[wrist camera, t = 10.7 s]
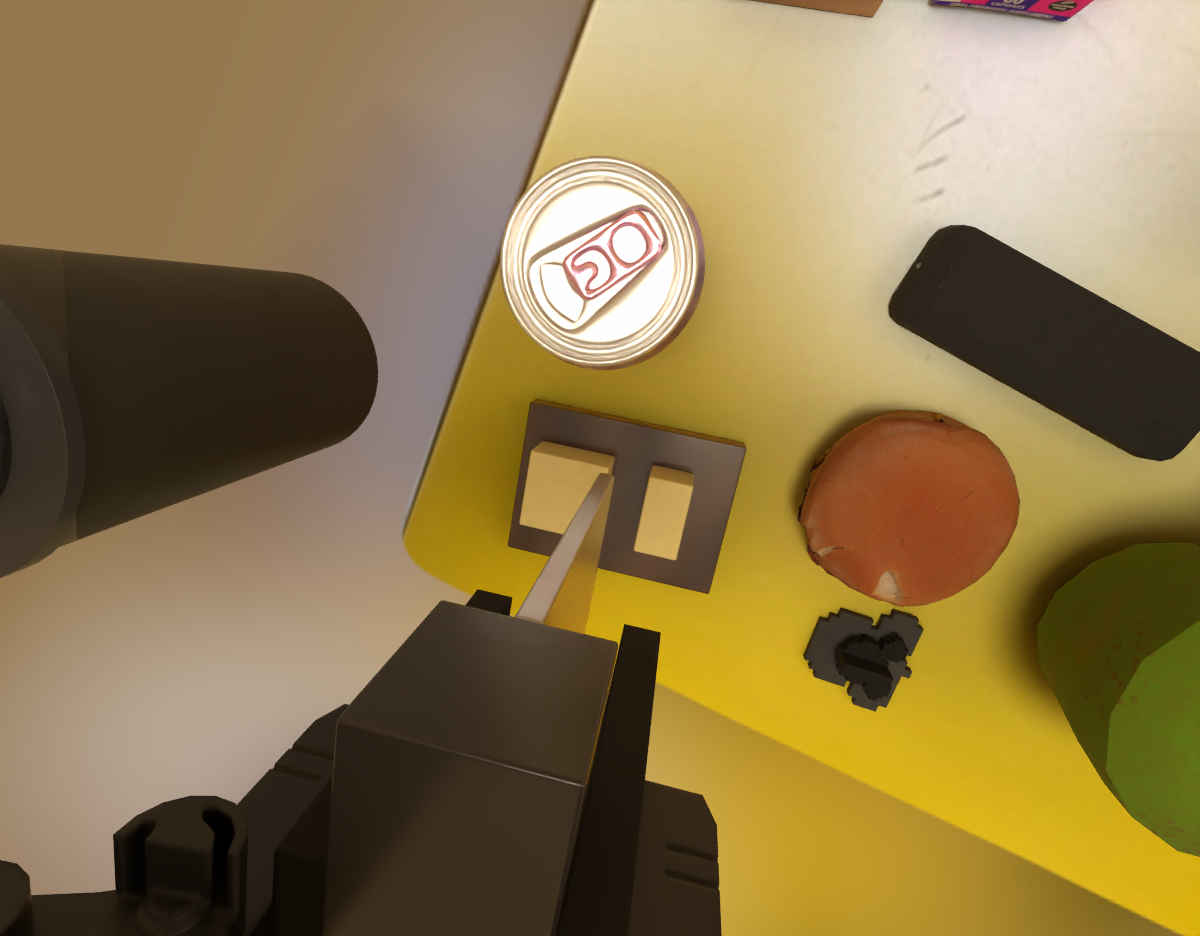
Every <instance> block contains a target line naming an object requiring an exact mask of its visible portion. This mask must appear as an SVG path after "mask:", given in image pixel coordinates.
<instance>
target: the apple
mask: <svg viewBox="0 0 1200 936" xmlns="http://www.w3.org/2000/svg"><path fill="white" fill-rule="evenodd" d="M1036 631H1037V643H1038V656H1039V666H1040V667H1041V669H1042V671H1043V673H1044V675H1045V677H1046V679H1047V681H1048V682H1049V684H1050V686H1051V688H1052V690H1053V692H1054V694H1055V695H1056V697H1057V699H1058V701H1059V703H1060V705H1061V707H1062V709H1063V711H1064V714H1065V716H1066V718H1067V720H1068V722H1069V724H1070V726H1071V728H1072V730H1073V732H1074V734H1075V736H1076V738H1077V740H1078V742H1079V743H1080V745H1081V746H1082V748H1083V750H1084V751H1085V753H1086V755H1087V756H1088V758H1089V759H1090V761H1091V763H1092V764H1093V766H1094V767H1095V769H1096V771H1097V772H1098V774H1099V776H1100V777H1101V779H1102V780H1103V782H1104V784H1105V785H1106V786H1107V787H1108V789H1109V790H1110V791H1111V792H1112V793H1113V795H1114V796H1115V797H1116V798H1117V799H1118V801H1119V802H1120V803H1121V804H1122V806H1123V807H1124V808H1125V809H1126V810H1127V812H1128V813H1129V814H1130V815H1131V817H1133V818H1134V819H1135V820H1137V821H1138V822H1139V823H1141V824H1142V825H1143V826H1145V827H1146V828H1147V829H1149V830H1150V831H1152V832H1153V833H1154V834H1156V835H1157V836H1158V837H1160V838H1161V839H1162V840H1164V841H1165V842H1166V843H1168V844H1169V845H1170V846H1172V847H1173V848H1174V849H1176V850H1177V851H1180V852H1184V853H1187V854H1191V855H1195V856H1199V857H1200V545H1197V544H1193V543H1189V542H1173V543H1143V544H1135V545H1133V546H1131V547H1128V548H1126V549H1123V550H1121V551H1119V552H1116V553H1114V554H1112V555H1109V556H1107V557H1105V558H1102V559H1100V560H1098V561H1095V562H1093V563H1091V564H1090V565H1088V566H1087V567H1086V568H1085V569H1083V570H1082V571H1081V572H1080V573H1078V574H1077V575H1076V576H1075V577H1073V578H1072V579H1071V580H1070V581H1068V582H1067V583H1066V584H1065V585H1063V586H1062V587H1061V588H1060V589H1058V590H1057V591H1056V592H1055V594H1054V596H1053V597H1052V599H1051V601H1050V603H1049V605H1048V607H1047V609H1046V611H1045V612H1044V614H1043V616H1042V618H1041V620H1040V622H1039V624H1038V626H1037V628H1036Z"/></svg>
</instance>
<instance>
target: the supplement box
mask: <svg viewBox="0 0 1200 936" xmlns="http://www.w3.org/2000/svg"><path fill="white" fill-rule="evenodd" d="M931 1H932V3H933V4H937V5H950V6H966V7H974V8H983V9H989V10H996V11H1004V12H1011V13H1018V14H1024V15H1032V16H1039V17H1042V18H1046V19H1052V20H1058V21H1066V20H1068V19H1069V18H1071V17H1072V16H1073V15H1075V14H1076V13H1077V12H1079V11H1080V10H1081V9H1083V8H1084V7H1085V6H1087V5H1088V4H1089V3H1091V2H1092V1H1093V0H931Z"/></svg>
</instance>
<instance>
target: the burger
mask: <svg viewBox="0 0 1200 936" xmlns="http://www.w3.org/2000/svg"><path fill="white" fill-rule="evenodd" d="M810 472H811V474H810V479H809V482H808V485H807V488H806V489H805V494H804V500H803V502H802V504H801V506H800V507H799V513H798V521H799V523H800V524H801V526H803V527H804V528H805V530H806V534H807V540H808V544H807V551H808V553H809V556H810V558H811V559H812V561H813V562H814V563H816V564H817V565H820V566H821V567H822V568H823V569H824V570H825V571H826V572H827V573H828V574H830V575H832V576H834V577H836V578H838V579H839V580H840V581H842V582H843V583H844V584H845V585H847V586H848V587H849V588H852V589H854V590H856V591H858V592H860V593H862V594H865V595H867V596H869V597H871V598H874V599H876V600H879V601H886V602H888V603H891V604H894V605H897V606H901V607H904V606H921V605H927V604H930V603H933V602H936V601H939V600H942V599H945V598H948V597H950V596H953V595H954V594H956V593H958V592H960V591H961V590H963V589H965V588H966V587H968V586H970V585H971V584H973V583H975V582H976V581H977V580H979V579H980V578H981V577H982V576H983V575H984V574H985V573H987V572H988V571H989V570H990V569H991V568H992V566H993V565H994V563H995V562H996V561H997V559H998V558H999V556H1000V555H1001V554H1002V552H1003V551H1004V550H1005V548H1006V547H1007V545H1008V543H1009V541H1010V539H1011V536H1012V534H1013V532H1014V530H1015V528H1016V525H1017V520H1018V515H1019V504H1020V499H1019V494H1018V490H1017V485H1016V480H1015V476H1014V474H1013V471H1012V469H1011V467H1010V465H1009V463H1008V461H1007V459H1006V458H1005V456H1004V455H1003V453H1002V452H1001V450H1000V449H999V448H998V447H997V446H996V445H995V444H994V443H993V442H992V441H991V440H990V439H989V438H988V437H987V436H986V435H985V434H983V433H981V432H979V431H977V430H975V429H972V428H970V427H968V426H966V425H965V424H963V423H961V422H959V421H957V420H955V419H952V418H950V417H947V416H944V415H942V414H940V413H933V412H925V411H907V410H900V411H891V412H888V413H885V414H883V415H880V416H878V417H876V418H874V419H872V420H869V421H867V422H866V423H864V424H862V425H860V426H858V427H856V428H855V429H854V430H852V431H850V432H849V433H847V434H845V436H843V437H842V438H841V439H840V440H838V441H837V442H836V443H834V444H833V445H832V446H831V447H830V448H828V449H827V450H826V451H825V452H824V453H823V454H821V455H820V456H819V457H818V458H817V459H816V460H815V461H814V464H813V467H812V469H811V471H810Z"/></svg>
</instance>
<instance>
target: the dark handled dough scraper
mask: <svg viewBox="0 0 1200 936" xmlns="http://www.w3.org/2000/svg"><path fill="white" fill-rule="evenodd" d="M614 479H615V476H614V475H610V474H605V473H599V475H598V477H597V478H596V480H595V482H594V483H593V485H592V487H591V488H590V490H589V492H588V494H587V495H586V497H585V499H584V500H583V502H582V504H581V505H580V507H579V509H578V511H577V512H576V514H575V516H574V517H573V519H572V521H571V522H570V524H569V526H568V527H567V529H566V531H565V533H564V534H563V536H562V538H561V539H560V541H559V543H558V544H557V546H556V548H555V550H554V551H553V553H552V555H551V556H550V558H549V560H548V561H547V563H546V565H545V567H544V568H543V570H542V572H541V573H540V575H539V577H538V578H537V580H536V582H535V583H534V585H533V587H532V589H531V590H530V592H529V594H528V595H527V597H526V599H525V600H524V602H523V604H522V606H521V607H520V609H519V611H518V612H517V614H516V616H515V617H511V616H506V615H502V614H498V613H494V612H490V611H486V610H481V609H477V608H473V607H469V606H464V605H460V604H456V603H452V602H448V601H440V602H439V604H438V605H437V606H436V607H435V608H434V609H433V610H432V611H431V613H430V614H429V615H428V616H427V617H426V618H425V619H424V621H423V622H422V623H421V624H420V625H419V626H418V627H417V628H416V630H415V631H414V632H413V633H412V634H411V635H410V636H409V638H408V639H407V640H406V641H405V642H404V643H403V644H402V645H401V647H400V648H399V649H398V650H397V651H396V652H395V653H394V655H393V656H392V657H391V658H390V659H389V661H387V663H386V664H385V665H384V666H383V667H382V668H381V669H380V671H379V672H378V673H377V674H376V675H375V676H374V677H373V679H372V680H371V681H370V682H369V683H368V684H367V685H366V687H365V688H364V689H363V690H362V691H361V692H360V693H359V694H358V696H357V697H356V698H355V699H354V700H353V701H352V703H351V704H350V705H349V706H348V707H347V708H346V709H345V710H344V712H343V713H342V714H341V715H340V716H339V718H338V719H337V724H336V738H335V752H334V765H333V779H332V793H331V807H330V820H329V834H328V848H327V862H326V875H325V889H324V903H323V916H322V930H321V936H556V931H557V926H558V922H559V917H560V913H561V908H562V904H563V899H564V895H565V891H566V886H567V882H568V877H569V873H570V868H571V864H572V859H573V855H574V850H575V846H576V841H577V837H578V832H579V828H580V823H581V819H582V814H583V810H584V805H585V801H586V796H587V792H588V788H589V783H590V779H591V774H592V769H593V764H594V759H595V755H596V750H597V745H598V740H599V736H600V731H601V726H602V721H603V717H604V712H605V707H606V702H607V698H608V693H609V687H610V683H611V679H612V674H613V669H614V664H615V659H616V655H617V650H618V643H617V642H615V641H611V640H606V639H602V638H598V637H594V636H590V635H586V634H585V630H586V625H587V620H588V614H589V609H590V604H591V599H592V594H593V588H594V583H595V578H596V573H597V568H598V562H599V557H600V552H601V547H602V541H603V536H604V531H605V526H606V521H607V515H608V510H609V505H610V500H611V495H612V489H613V484H614Z"/></svg>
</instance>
